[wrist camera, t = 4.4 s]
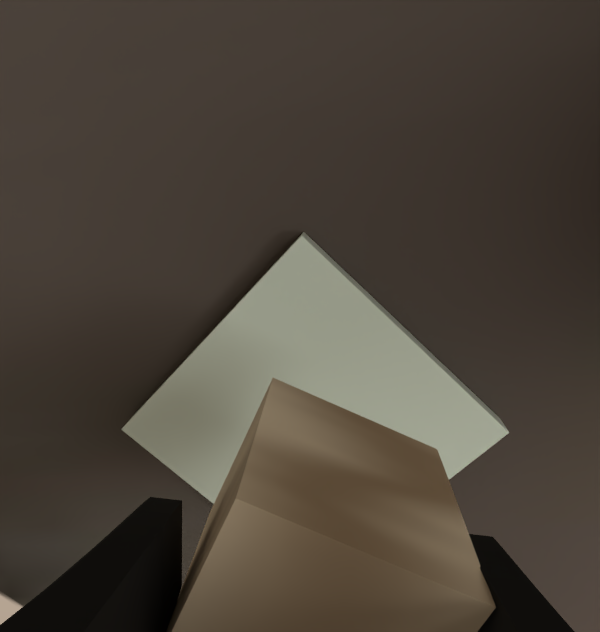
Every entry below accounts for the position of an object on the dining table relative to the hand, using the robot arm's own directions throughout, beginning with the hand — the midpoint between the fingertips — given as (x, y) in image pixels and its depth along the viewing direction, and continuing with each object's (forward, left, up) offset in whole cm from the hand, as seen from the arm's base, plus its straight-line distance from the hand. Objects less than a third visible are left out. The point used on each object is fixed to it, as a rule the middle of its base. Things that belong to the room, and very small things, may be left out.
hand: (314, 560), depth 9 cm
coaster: (-1, +2, -9) cm, 9 cm away
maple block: (0, 0, -2) cm, 2 cm away
